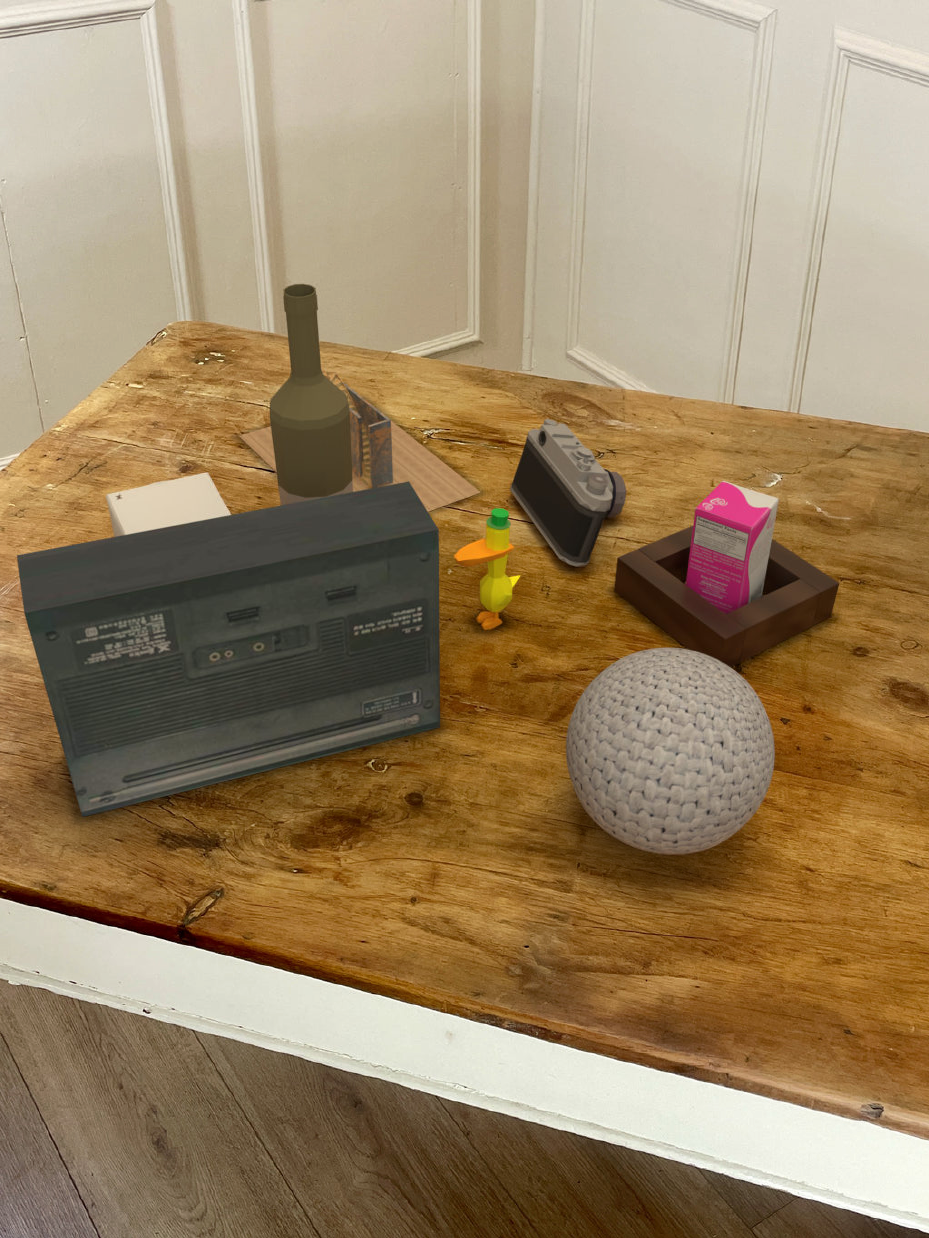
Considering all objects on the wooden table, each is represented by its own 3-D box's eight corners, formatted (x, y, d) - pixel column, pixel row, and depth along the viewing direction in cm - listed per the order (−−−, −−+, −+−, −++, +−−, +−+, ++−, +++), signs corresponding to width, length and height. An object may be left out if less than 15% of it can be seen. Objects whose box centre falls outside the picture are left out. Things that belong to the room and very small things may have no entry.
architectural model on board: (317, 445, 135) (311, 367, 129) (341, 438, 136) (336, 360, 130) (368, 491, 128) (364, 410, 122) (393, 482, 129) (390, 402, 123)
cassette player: (413, 675, 105) (409, 481, 92) (439, 727, 100) (438, 529, 87) (72, 755, 97) (16, 555, 84) (82, 816, 92) (24, 613, 79)
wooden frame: (723, 543, 121) (728, 510, 118) (831, 617, 112) (840, 582, 109) (613, 591, 114) (617, 557, 112) (718, 673, 105) (725, 638, 103)
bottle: (370, 600, 113) (355, 300, 94) (299, 617, 111) (268, 314, 92) (347, 559, 118) (328, 267, 99) (278, 575, 116) (245, 280, 97)
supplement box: (706, 578, 116) (723, 477, 109) (762, 600, 114) (784, 498, 106) (678, 607, 112) (694, 506, 105) (736, 631, 110) (756, 528, 103)
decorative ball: (535, 863, 88) (545, 716, 79) (589, 731, 99) (604, 588, 90) (737, 922, 84) (773, 774, 75) (770, 778, 95) (806, 633, 86)
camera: (637, 572, 119) (673, 486, 114) (562, 570, 116) (596, 480, 110) (573, 492, 131) (603, 410, 125) (503, 487, 127) (531, 402, 122)
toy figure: (464, 644, 108) (466, 535, 101) (446, 622, 110) (446, 514, 103) (528, 622, 111) (534, 514, 103) (509, 601, 113) (513, 494, 106)
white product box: (155, 690, 103) (126, 548, 94) (131, 630, 109) (101, 492, 100) (256, 661, 106) (238, 521, 97) (227, 604, 112) (207, 468, 103)
